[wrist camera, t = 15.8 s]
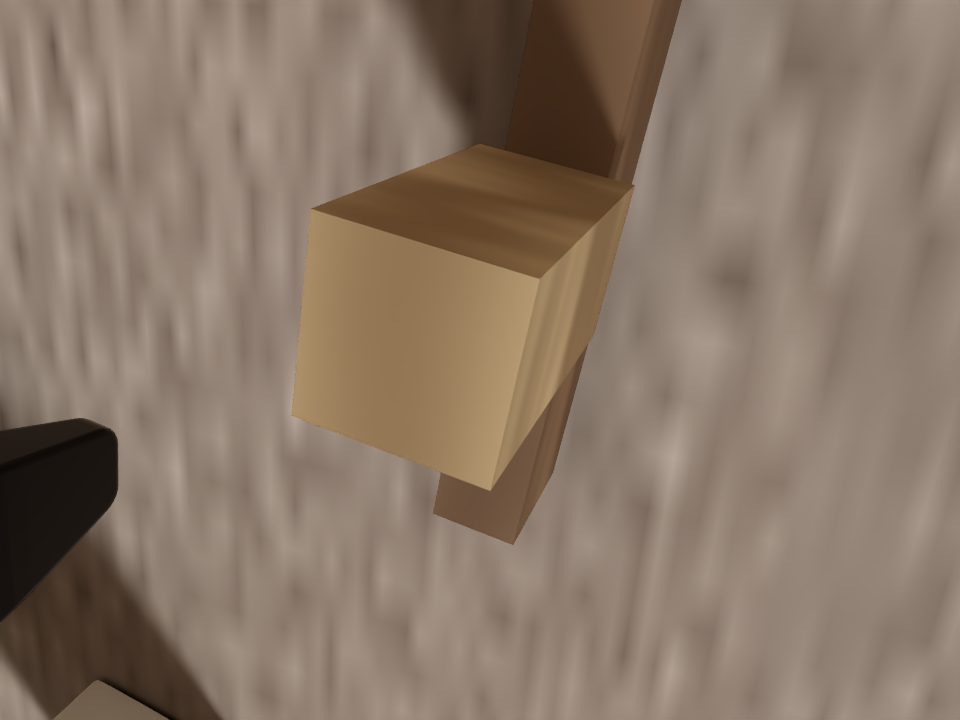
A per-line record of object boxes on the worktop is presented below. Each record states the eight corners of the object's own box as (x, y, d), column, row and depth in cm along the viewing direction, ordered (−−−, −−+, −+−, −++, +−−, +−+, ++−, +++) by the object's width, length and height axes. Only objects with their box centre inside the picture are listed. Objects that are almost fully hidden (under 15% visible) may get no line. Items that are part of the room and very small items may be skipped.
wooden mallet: (747, -138, 15) (680, -327, 7) (572, 476, 21) (425, 766, 13) (593, -163, 16) (364, -362, 7) (467, 438, 22) (265, 690, 14)
